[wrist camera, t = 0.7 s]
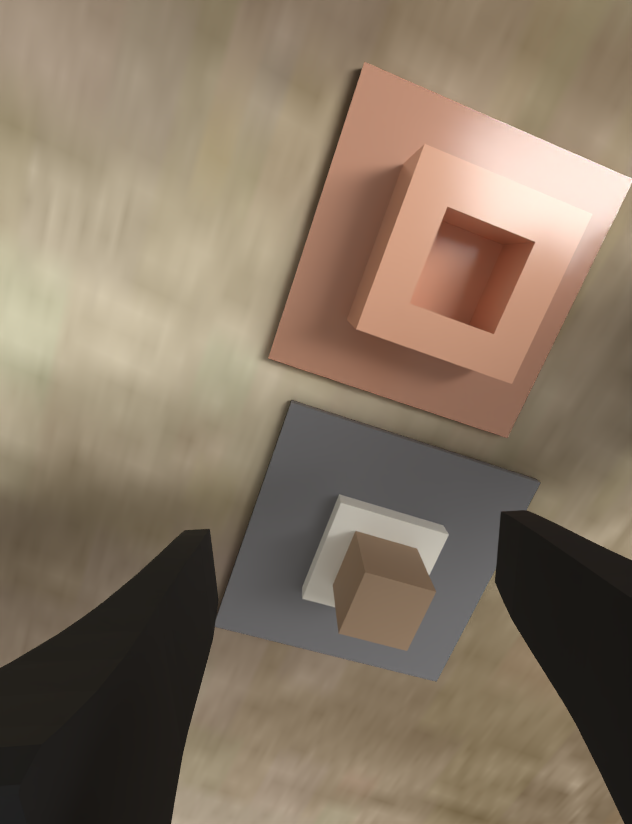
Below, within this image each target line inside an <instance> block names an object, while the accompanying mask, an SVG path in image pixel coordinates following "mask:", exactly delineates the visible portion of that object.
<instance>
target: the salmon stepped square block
mask: <svg viewBox="0 0 632 824" xmlns="http://www.w3.org/2000/svg"><path fill="white" fill-rule="evenodd" d="M631 184H632V178H629V177H627V176H625V175H623V174H620V173H618V172H616V171H613V170H611V169H609V168H607V167H604V166H602V165H600V164H597V163H595V162H593V161H590V160H588V159H586V158H584V157H581V156H579V155H577V154H574V153H572V152H570V151H568V150H565V149H563V148H561V147H558V146H556V145H554V144H552V143H549V142H547V141H545V140H542V139H540V138H538V137H535V136H533V135H531V134H529V133H526V132H524V131H522V130H519V129H517V128H515V127H513V126H510V125H508V124H506V123H503V122H501V121H499V120H497V119H494V118H492V117H490V116H487V115H485V114H483V113H480V112H478V111H476V110H474V109H471V108H469V107H467V106H464V105H462V104H460V103H458V102H455V101H453V100H451V99H448V98H446V97H444V96H441V95H439V94H437V93H435V92H432V91H430V90H428V89H425V88H423V87H421V86H419V85H416V84H414V83H412V82H409V81H407V80H405V79H403V78H400V77H398V76H396V75H393V74H391V73H389V72H386V71H384V70H382V69H380V68H377V67H375V66H373V65H370V64H368V63H366V62H364V64H363V67H362V70H361V73H360V76H359V80H358V83H357V86H356V89H355V92H354V95H353V98H352V101H351V104H350V107H349V110H348V113H347V117H346V120H345V123H344V126H343V129H342V132H341V135H340V138H339V141H338V144H337V147H336V150H335V154H334V157H333V160H332V163H331V166H330V169H329V172H328V175H327V178H326V181H325V184H324V187H323V191H322V194H321V197H320V200H319V203H318V206H317V209H316V212H315V215H314V218H313V221H312V224H311V228H310V231H309V234H308V237H307V240H306V243H305V246H304V249H303V252H302V255H301V258H300V261H299V265H298V268H297V271H296V274H295V277H294V280H293V283H292V286H291V289H290V292H289V295H288V298H287V302H286V305H285V308H284V311H283V314H282V317H281V320H280V323H279V326H278V329H277V332H276V335H275V339H274V342H273V345H272V348H271V351H270V354H269V357H268V358H269V359H272V360H275V361H278V362H281V363H284V364H287V365H290V366H293V367H296V368H299V369H302V370H305V371H308V372H311V373H314V374H317V375H320V376H323V377H326V378H329V379H332V380H335V381H338V382H341V383H344V384H347V385H350V386H353V387H356V388H359V389H362V390H365V391H368V392H371V393H374V394H377V395H380V396H383V397H386V398H389V399H392V400H395V401H398V402H401V403H404V404H407V405H410V406H413V407H416V408H419V409H422V410H425V411H428V412H431V413H434V414H437V415H440V416H443V417H446V418H449V419H452V420H455V421H458V422H461V423H464V424H467V425H470V426H473V427H476V428H479V429H482V430H485V431H488V432H491V433H494V434H497V435H500V436H503V437H506V438H508V436H509V434H510V432H511V430H512V428H513V425H514V423H515V421H516V419H517V417H518V415H519V413H520V411H521V409H522V407H523V405H524V403H525V401H526V399H527V397H528V395H529V393H530V391H531V389H532V387H533V384H534V382H535V380H536V378H537V376H538V374H539V372H540V370H541V368H542V366H543V364H544V362H545V360H546V358H547V356H548V354H549V352H550V350H551V348H552V346H553V344H554V341H555V339H556V337H557V335H558V333H559V331H560V329H561V327H562V325H563V323H564V321H565V319H566V317H567V315H568V313H569V311H570V309H571V307H572V305H573V303H574V300H575V298H576V296H577V294H578V292H579V290H580V288H581V286H582V284H583V282H584V280H585V278H586V276H587V274H588V272H589V270H590V268H591V266H592V264H593V262H594V260H595V257H596V255H597V253H598V251H599V249H600V247H601V245H602V243H603V241H604V239H605V237H606V235H607V233H608V231H609V229H610V227H611V225H612V223H613V221H614V219H615V216H616V214H617V212H618V210H619V208H620V206H621V204H622V202H623V200H624V198H625V196H626V194H627V192H628V190H629V188H630V186H631Z"/></svg>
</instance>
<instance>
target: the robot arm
mask: <svg viewBox="0 0 632 824" xmlns="http://www.w3.org/2000/svg"><path fill="white" fill-rule="evenodd" d="M495 583H496V585H497V588H498V590H499V592H500V595H501V597H502V599H503V602H504V604H505V606H506V608H507V610H508V612H509V614H510V617H511V619H512V620H513V622H514V624H515V625H516V627H517V629H518V630H519V632H520V634H521V635H522V637H523V638H524V640H525V642H526V643H527V645H528V647H529V648H530V650H531V651H532V653H533V655H534V656H535V658H536V659H537V661H538V663H539V664H540V666H541V667H542V669H543V671H544V672H545V674H546V675H547V677H548V679H549V680H550V682H551V683H552V685H553V687H554V688H555V690H556V691H557V693H558V695H559V696H560V698H561V699H562V701H563V703H564V704H565V706H566V708H567V709H568V711H569V713H570V715H571V716H572V718H573V720H574V722H575V723H576V725H577V727H578V729H579V731H580V733H581V735H582V737H583V739H584V741H585V743H586V745H587V747H588V749H589V751H590V753H591V755H592V757H593V759H594V761H595V763H596V765H597V767H598V769H599V771H600V773H601V775H602V777H603V779H604V781H605V783H606V786H607V788H608V790H609V792H610V794H611V796H612V798H613V800H614V802H615V805H616V807H617V809H618V811H619V813H620V815H621V817H622V819H623V821H624V824H632V560H630V559H628V558H625V557H623V556H621V555H619V554H617V553H615V552H612V551H610V550H608V549H606V548H604V547H602V546H600V545H598V544H596V543H594V542H592V541H590V540H588V539H586V538H584V537H582V536H580V535H578V534H576V533H574V532H572V531H570V530H568V529H566V528H564V527H562V526H560V525H558V524H555V523H553V522H551V521H549V520H547V519H545V518H543V517H541V516H539V515H536V514H534V513H532V512H529V511H526V510H518V511H501V515H500V527H499V539H498V552H497V564H496V576H495ZM217 606H218V593H217V584H216V576H215V568H214V560H213V552H212V543H211V535H210V529H201V530H185V531H184V532H182V533H181V534H180V535H179V536H178V537H177V538H176V539H175V540H173V541H172V542H171V543H170V544H169V545H168V546H167V547H166V548H165V549H164V550H163V551H162V552H161V553H160V554H159V555H158V556H156V557H155V558H154V559H153V560H152V561H151V562H150V563H149V564H148V565H147V566H146V567H144V568H143V569H142V570H141V571H140V572H139V573H138V574H137V575H136V576H134V577H133V578H132V579H131V580H130V581H128V582H127V583H126V584H125V585H124V586H122V587H121V588H120V589H119V590H118V591H116V592H115V593H114V594H113V595H111V596H110V597H109V598H108V599H107V600H105V601H104V602H103V603H102V604H100V605H99V606H98V607H96V608H95V609H94V610H92V611H91V612H90V613H88V614H87V615H85V616H84V617H83V618H81V619H80V620H78V621H77V622H75V623H74V624H72V625H71V626H69V627H68V628H67V629H65V630H64V631H62V632H61V633H59V634H57V635H56V636H54V637H53V638H51V639H49V640H48V641H46V642H44V643H43V644H41V645H39V646H38V647H36V648H34V649H32V650H31V651H29V652H27V653H26V654H24V655H22V656H21V657H19V658H17V659H16V660H14V661H12V662H11V663H9V664H7V665H5V666H3V667H1V668H0V824H171V820H172V814H173V808H174V802H175V796H176V790H177V785H178V779H179V773H180V767H181V762H182V756H183V751H184V747H185V742H186V738H187V734H188V730H189V726H190V722H191V719H192V715H193V711H194V708H195V704H196V700H197V697H198V693H199V689H200V686H201V682H202V678H203V674H204V671H205V667H206V663H207V660H208V656H209V652H210V648H211V644H212V640H213V635H214V628H215V621H216V614H217Z"/></svg>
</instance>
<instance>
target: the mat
mask: <svg viewBox="0 0 632 824" xmlns="http://www.w3.org/2000/svg"><path fill="white" fill-rule="evenodd" d="M539 485H540V482H539V481H538V480H537V479H535V478H531V477H528V476H525V475H522V474H519V473H516V472H513V471H510V470H507V469H504V468H501V467H497V466H494V465H491V464H488V463H485V462H482V461H479V460H476V459H473V458H470V457H467V456H463V455H460V454H457V453H454V452H451V451H448V450H445V449H442V448H439V447H436V446H433V445H429V444H426V443H423V442H420V441H417V440H414V439H411V438H408V437H405V436H402V435H398V434H395V433H392V432H389V431H386V430H383V429H380V428H377V427H374V426H371V425H368V424H364V423H361V422H358V421H355V420H352V419H349V418H346V417H343V416H340V415H337V414H334V413H330V412H327V411H324V410H321V409H318V408H315V407H312V406H309V405H306V404H303V403H299V402H296V401H293V400H291V403H290V406H289V409H288V411H287V414H286V417H285V420H284V423H283V426H282V429H281V432H280V435H279V437H278V440H277V443H276V446H275V449H274V452H273V455H272V458H271V461H270V463H269V466H268V469H267V472H266V475H265V478H264V481H263V484H262V486H261V489H260V492H259V495H258V498H257V501H256V504H255V507H254V510H253V512H252V515H251V518H250V521H249V524H248V527H247V530H246V533H245V536H244V538H243V541H242V544H241V547H240V550H239V553H238V556H237V559H236V561H235V564H234V567H233V570H232V573H231V576H230V579H229V582H228V585H227V587H226V590H225V593H224V596H223V599H222V602H221V605H220V608H219V611H218V613H217V616H216V621H215V627H218V628H222V629H226V630H230V631H234V632H238V633H242V634H246V635H250V636H254V637H259V638H263V639H267V640H271V641H275V642H279V643H283V644H287V645H291V646H295V647H299V648H303V649H307V650H311V651H315V652H319V653H323V654H327V655H331V656H335V657H339V658H343V659H347V660H351V661H355V662H359V663H363V664H367V665H371V666H375V667H379V668H383V669H387V670H392V671H396V672H400V673H404V674H408V675H412V676H416V677H420V678H424V679H428V680H432V681H436V682H437V680H438V678H439V676H440V674H441V672H442V670H443V668H444V667H445V665H446V663H447V661H448V659H449V657H450V655H451V653H452V651H453V649H454V647H455V645H456V644H457V642H458V640H459V638H460V636H461V634H462V632H463V630H464V628H465V626H466V624H467V623H468V621H469V619H470V617H471V615H472V613H473V611H474V609H475V607H476V605H477V603H478V602H479V600H480V598H481V596H482V594H483V592H484V590H485V588H486V586H487V584H488V582H489V580H490V579H491V577H492V575H493V573H494V571H495V569H496V564H497V552H498V539H499V527H500V515H501V511H518V510H527V508H528V506H529V504H530V502H531V500H532V498H533V496H534V494H535V493H536V491H537V489H538V487H539ZM339 494H340V495H343V496H347V497H350V498H353V499H357V500H360V501H363V502H367V503H370V504H373V505H377V506H380V507H384V508H387V509H390V510H394V511H397V512H400V513H404V514H407V515H410V516H414V517H417V518H420V519H424V520H427V521H430V522H434V523H437V524H440V525H444V527H445V529H446V531H447V532H448V534H449V536H448V538H447V540H446V542H445V544H444V546H443V548H442V550H441V552H440V554H439V556H438V558H437V560H436V563H435V565H434V567H433V569H432V571H431V573H430V575H429V577H430V579H431V581H432V583H433V586H434V588H435V590H436V593H435V595H434V597H433V599H432V601H431V603H430V606H429V608H428V610H427V612H426V614H425V616H424V618H423V620H422V622H421V624H420V626H419V628H418V630H417V632H416V634H415V636H414V638H413V640H412V642H411V644H410V646H409V648H408V650H407V651H405V650H401V649H397V648H393V647H389V646H385V645H381V644H378V643H374V642H370V641H366V640H362V639H358V638H354V637H350V636H346V635H342V634H339V633H338V625H337V617H336V609H335V607H332V606H328V605H324V604H320V603H317V602H313V601H309V600H305V599H302V586H303V584H304V581H305V579H306V576H307V574H308V571H309V569H310V566H311V564H312V561H313V559H314V556H315V554H316V551H317V549H318V546H319V544H320V541H321V539H322V536H323V534H324V531H325V529H326V526H327V524H328V521H329V519H330V516H331V514H332V511H333V509H334V506H335V503H336V501H337V498H338V496H339Z"/></svg>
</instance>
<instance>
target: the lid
mask: <svg viewBox="0 0 632 824" xmlns="http://www.w3.org/2000/svg"><path fill="white" fill-rule="evenodd" d="M448 536H449V534H448V532H447V531H446V529H445V527H444V525H440V524H437V523H434V522H430V521H427V520H424V519H420V518H417V517H414V516H410V515H407V514H404V513H400V512H397V511H394V510H390V509H387V508H384V507H380V506H377V505H373V504H370V503H367V502H363V501H360V500H357V499H353V498H350V497H347V496H343V495H340V494H339V496H338V498H337V501H336V503H335V506H334V509H333V511H332V514H331V516H330V519H329V521H328V524H327V526H326V529H325V531H324V534H323V536H322V539H321V541H320V544H319V546H318V549H317V551H316V554H315V556H314V559H313V561H312V564H311V566H310V569H309V571H308V574H307V576H306V579H305V581H304V584H303V586H302V599H305V600H309V601H313V602H317V603H320V604H324V605H328V606H332V607H335V609H336V617H337V625H338V633H339V634H342V635H346V636H350V637H354V638H358V639H362V640H366V641H370V642H374V643H378V644H381V645H385V646H389V647H393V648H397V649H401V650H405V651H407V650H408V648H409V646H410V644H411V642H412V640H413V638H414V636H415V634H416V632H417V630H418V628H419V626H420V624H421V622H422V620H423V618H424V616H425V614H426V612H427V610H428V608H429V606H430V603H431V601H432V599H433V597H434V595H435V593H436V590H435V588H434V586H433V583H432V581H431V579H430V577H429V575H430V573H431V571H432V569H433V567H434V565H435V563H436V560H437V558H438V556H439V554H440V552H441V550H442V548H443V546H444V544H445V542H446V540H447V538H448Z"/></svg>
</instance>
